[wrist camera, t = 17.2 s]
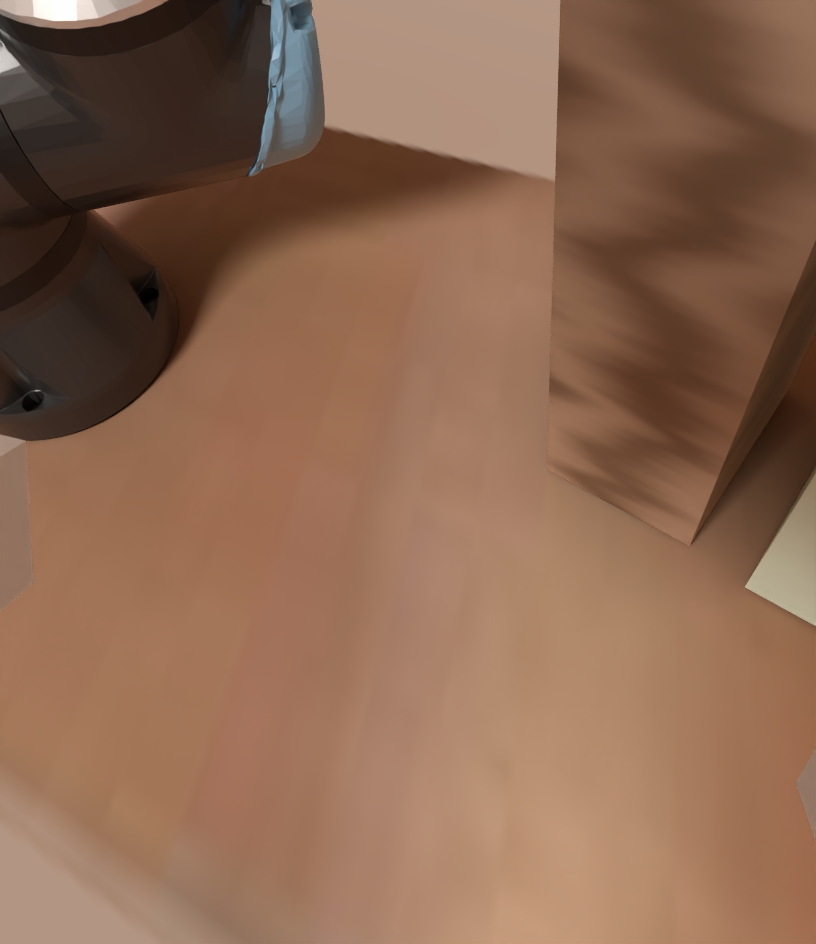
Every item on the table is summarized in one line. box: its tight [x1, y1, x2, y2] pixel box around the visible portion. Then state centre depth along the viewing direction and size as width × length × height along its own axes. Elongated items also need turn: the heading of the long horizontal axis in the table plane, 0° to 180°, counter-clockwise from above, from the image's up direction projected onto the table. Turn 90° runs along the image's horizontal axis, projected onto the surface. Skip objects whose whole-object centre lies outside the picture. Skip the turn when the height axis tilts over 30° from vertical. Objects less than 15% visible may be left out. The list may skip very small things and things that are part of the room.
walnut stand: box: [547, 0, 816, 546], centre depth 26 cm, size 8×11×34 cm
